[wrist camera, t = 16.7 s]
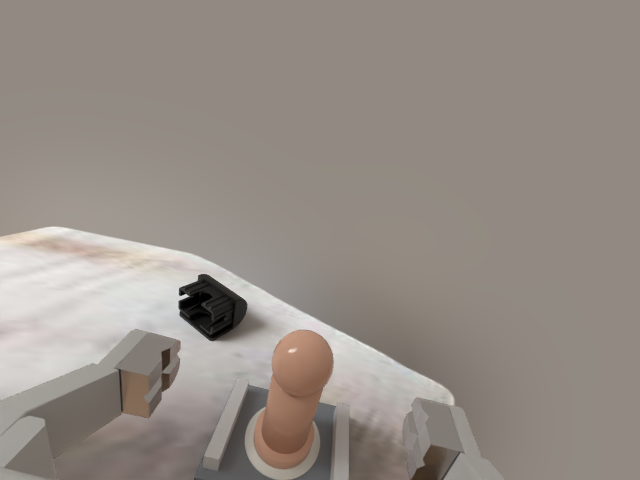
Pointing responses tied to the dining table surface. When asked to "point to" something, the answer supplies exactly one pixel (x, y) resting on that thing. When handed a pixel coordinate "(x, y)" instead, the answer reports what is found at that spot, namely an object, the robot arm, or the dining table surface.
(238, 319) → the end cap
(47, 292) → the dining table surface
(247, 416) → the display plinth
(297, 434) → the ball-topped peg
